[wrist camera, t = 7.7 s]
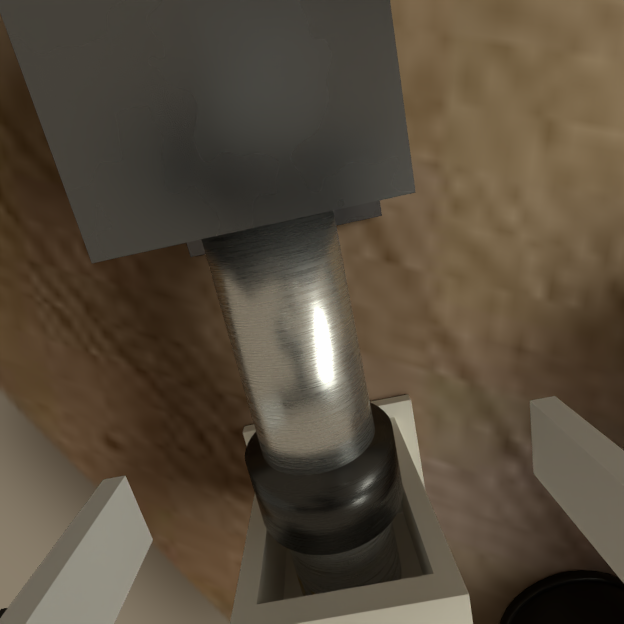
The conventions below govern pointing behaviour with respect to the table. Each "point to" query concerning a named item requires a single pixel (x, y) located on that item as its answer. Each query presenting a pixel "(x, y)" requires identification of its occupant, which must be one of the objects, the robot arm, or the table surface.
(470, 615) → the socket
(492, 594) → the table surface
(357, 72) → the dark grey block
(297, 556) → the rod
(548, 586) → the french press
